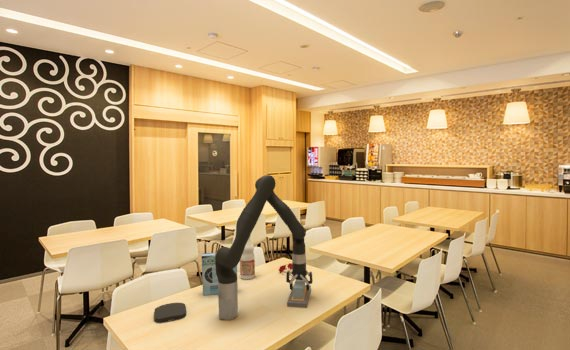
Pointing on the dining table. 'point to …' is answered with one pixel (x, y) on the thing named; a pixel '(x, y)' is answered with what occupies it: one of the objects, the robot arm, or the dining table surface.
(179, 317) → the media streaming box
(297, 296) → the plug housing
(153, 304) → the dining table surface
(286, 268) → the glasses
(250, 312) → the dining table surface
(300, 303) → the board
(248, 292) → the dining table surface
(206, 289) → the blue flat upright box
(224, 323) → the dining table surface
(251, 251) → the fruit juice
